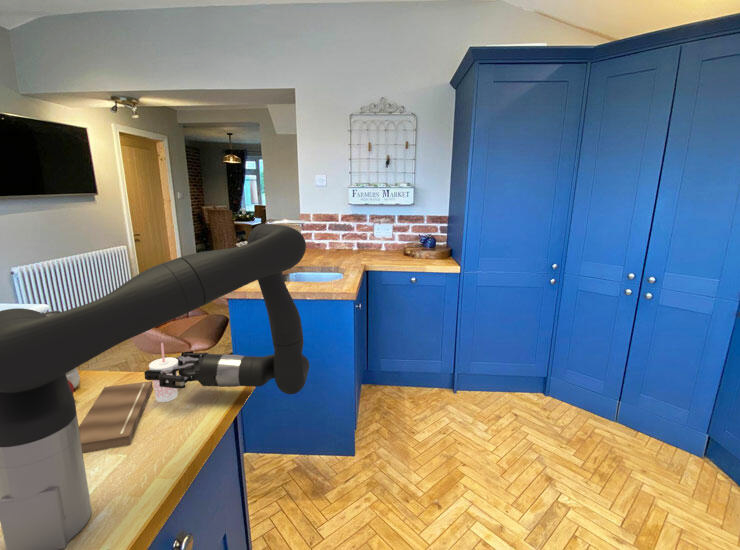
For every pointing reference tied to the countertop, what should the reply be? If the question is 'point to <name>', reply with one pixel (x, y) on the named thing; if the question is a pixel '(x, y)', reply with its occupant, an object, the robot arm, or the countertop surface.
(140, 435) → the countertop surface
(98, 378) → the countertop surface
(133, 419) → the walnut board
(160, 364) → the beverage cup
